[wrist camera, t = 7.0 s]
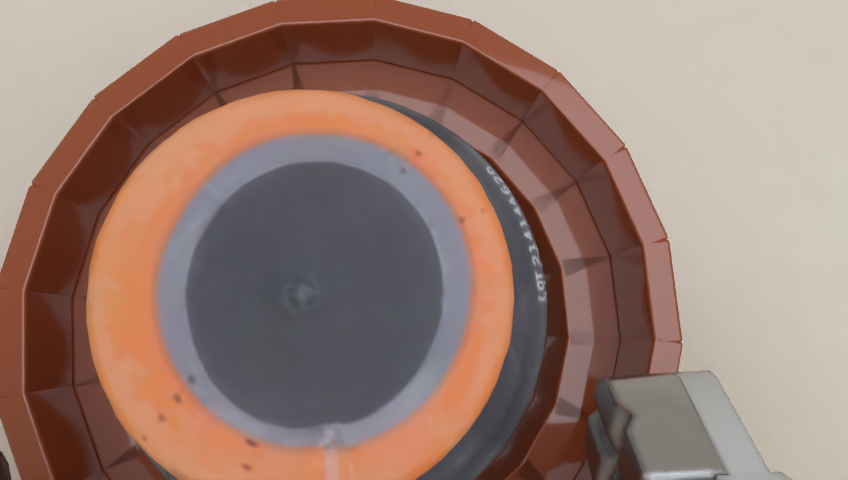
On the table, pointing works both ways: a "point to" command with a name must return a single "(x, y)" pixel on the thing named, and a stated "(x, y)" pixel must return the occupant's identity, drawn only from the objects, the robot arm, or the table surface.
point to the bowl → (367, 76)
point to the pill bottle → (317, 296)
